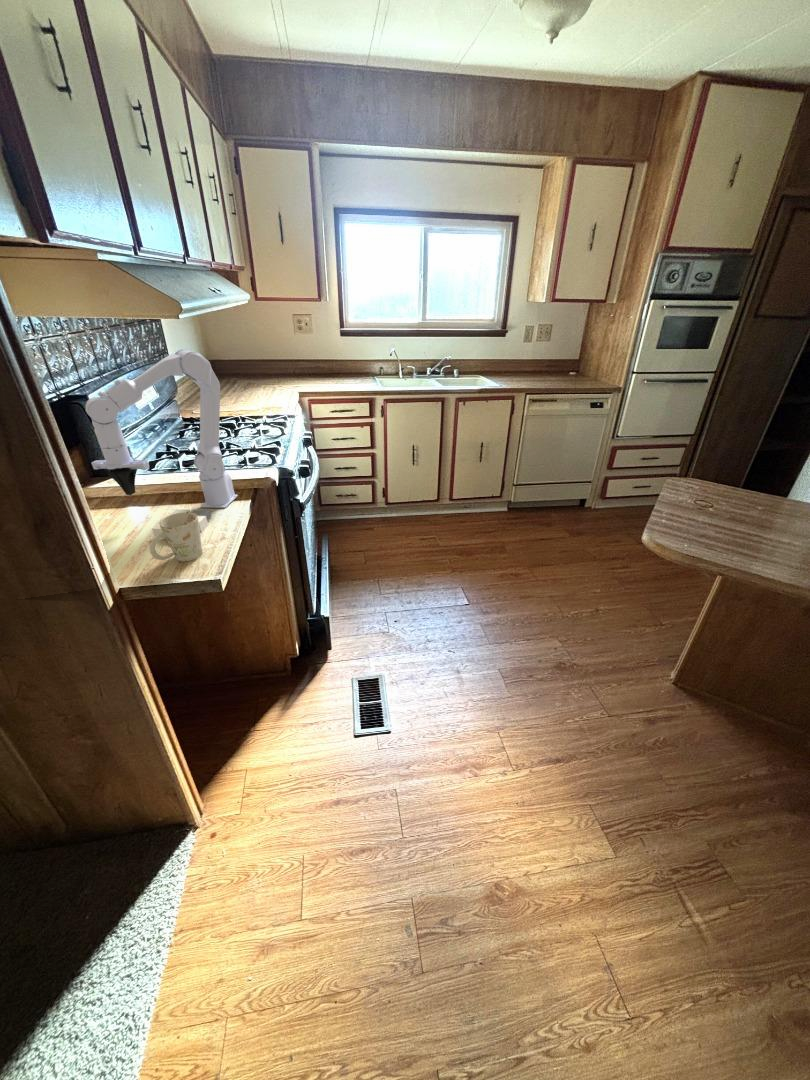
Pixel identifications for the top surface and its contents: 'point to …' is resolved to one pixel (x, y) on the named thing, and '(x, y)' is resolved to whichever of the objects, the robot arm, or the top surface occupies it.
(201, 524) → the t block
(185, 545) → the mug
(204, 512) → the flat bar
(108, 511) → the top surface
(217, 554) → the top surface
